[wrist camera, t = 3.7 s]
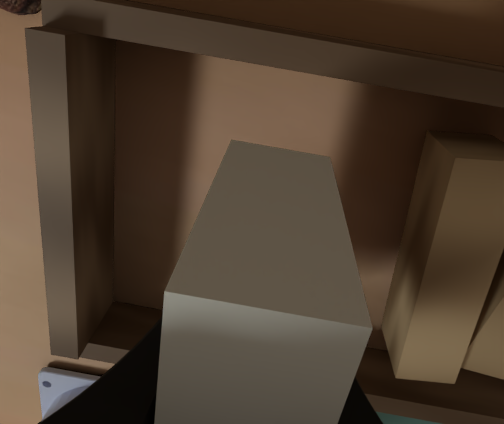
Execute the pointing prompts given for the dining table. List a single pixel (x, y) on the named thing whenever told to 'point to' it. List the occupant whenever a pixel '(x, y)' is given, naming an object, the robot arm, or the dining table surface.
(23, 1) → the wooden tablet
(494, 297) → the offcut block small
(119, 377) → the robot arm
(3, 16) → the dining table surface
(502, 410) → the rack
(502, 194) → the offcut block large
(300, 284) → the grey sheet
